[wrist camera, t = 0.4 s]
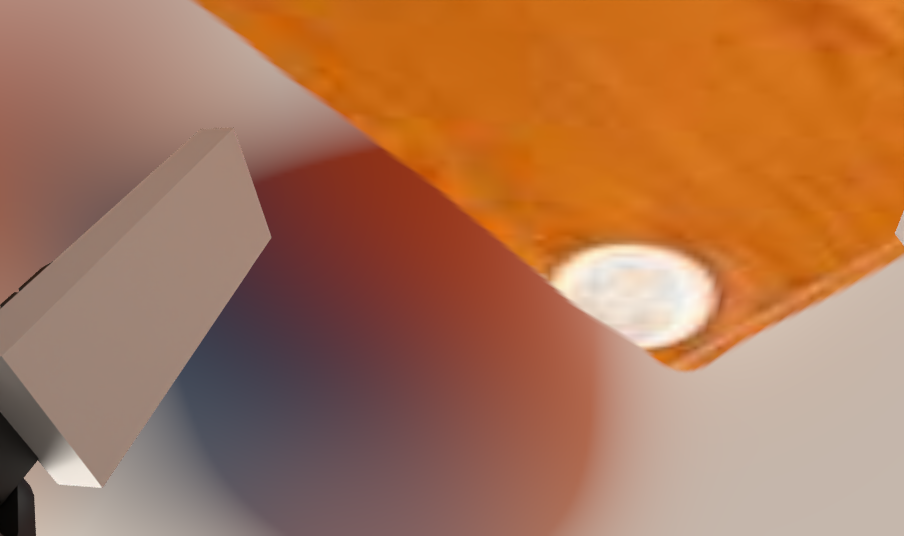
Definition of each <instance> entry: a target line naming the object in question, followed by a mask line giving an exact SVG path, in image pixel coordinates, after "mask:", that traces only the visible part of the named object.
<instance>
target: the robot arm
mask: <svg viewBox="0 0 904 536" xmlns="http://www.w3.org/2000/svg"><path fill="white" fill-rule="evenodd" d="M895 234H896V236H897V237H898V238H899V240H900V241H901V242H902V244H903V245H904V212H903V214H902V217H901V220H900V222H899V225H898V227H897V230H896V232H895ZM270 239H271V235H270V232H269V229H268V227H267V223H266V220H265V217H264V214H263V212H262V209H261V206H260V203H259V200H258V197H257V195H256V191H255V188H254V185H253V182H252V179H251V177H250V173H249V171H248V168H247V165H246V162H245V159H244V156H243V153H242V150H241V147H240V144H239V141H238V138H237V135H236V133H235V129H234V128H213V129H200V130H199V131H198V132H197V133H195V134H194V135H193V136H192V137H191V138H190V139H189V140H188V141H187V142H185V143H184V144H183V145H182V146H181V147H180V148H179V149H178V150H177V151H175V152H174V153H173V154H172V155H171V156H170V157H169V158H168V159H167V160H165V162H163V163H162V164H161V165H160V166H159V167H158V168H156V169H155V170H154V171H153V172H152V173H151V174H150V175H149V176H148V177H147V178H145V179H144V180H143V181H142V182H141V183H140V184H139V185H138V186H136V187H135V188H134V189H133V190H132V191H131V192H130V193H129V194H128V195H126V196H125V197H124V198H123V199H122V200H121V201H120V202H119V203H118V204H117V205H116V206H114V207H113V208H112V209H111V210H110V211H109V212H108V213H106V214H105V215H104V216H103V217H102V218H101V219H100V220H99V221H98V222H97V223H95V224H94V225H93V226H92V227H91V228H90V229H89V230H88V231H86V232H85V233H84V234H83V235H82V236H81V237H80V238H79V239H78V240H76V241H75V242H74V243H73V244H72V245H71V246H70V247H69V248H68V249H66V250H65V251H64V252H63V253H62V254H61V255H60V256H59V257H58V258H56V259H55V260H54V261H53V262H51V263H49V264H48V265H46V266H44V267H43V268H41V269H40V270H39V271H38V272H36V273H35V274H34V275H33V276H32V277H31V278H30V279H29V280H28V281H27V282H25V283H24V284H23V285H22V286H21V287H20V288H19V292H18V293H17V292H14V293H13V294H12V295H11V296H10V297H8V298H7V299H6V300H5V301H4V302H3V303H2V304H1V305H0V306H1V308H0V536H36V528H35V507H34V506H35V505H34V494H33V492H32V489H31V487H30V485H29V484H28V483H27V482H26V481H25V480H24V477H25V475H26V474H27V473H28V472H29V470H30V469H31V468H32V467H33V465H34V464H35V463H36V462H37V460H38V461H39V462H40V463H41V464H42V466H43V467H44V468H45V469H46V470H47V472H48V473H49V474H50V475H51V476H52V478H53V479H54V480H55V481H56V482H57V484H60V485H73V486H85V487H98V488H103V486H104V485H105V483H106V482H107V480H108V479H109V477H110V476H111V474H112V473H113V472H114V470H115V469H116V467H117V466H118V464H119V462H120V461H121V460H122V458H123V457H124V455H125V454H126V452H127V451H128V449H129V448H130V446H131V445H132V443H133V442H134V440H135V439H136V437H137V436H138V434H139V433H140V431H141V430H142V429H143V427H144V426H145V424H146V423H147V421H148V420H149V418H150V417H151V415H152V414H153V412H154V411H155V409H156V408H157V406H158V405H159V403H160V402H161V400H162V399H163V397H164V396H165V394H166V393H167V391H168V390H169V388H170V387H171V385H172V384H173V383H174V381H175V380H176V378H177V377H178V375H179V374H180V372H181V371H182V369H183V368H184V366H185V365H186V363H187V362H188V360H189V359H190V357H191V356H192V354H193V353H194V351H195V350H196V348H197V347H198V345H199V344H200V342H201V341H202V339H203V338H204V337H205V335H206V333H207V332H208V331H209V329H210V328H211V326H212V324H213V323H214V322H215V320H216V319H217V317H218V316H219V314H220V313H221V311H222V310H223V308H224V307H225V305H226V304H227V302H228V301H229V299H230V298H231V296H232V295H233V294H234V292H235V290H236V289H237V288H238V286H239V285H240V283H241V281H242V280H243V279H244V277H245V276H246V274H247V273H248V271H249V270H250V268H251V267H252V265H253V264H254V262H255V261H256V259H257V258H258V256H259V255H260V253H261V252H262V251H263V249H264V247H265V246H266V245H267V243H268V242H269V240H270Z"/></svg>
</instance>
